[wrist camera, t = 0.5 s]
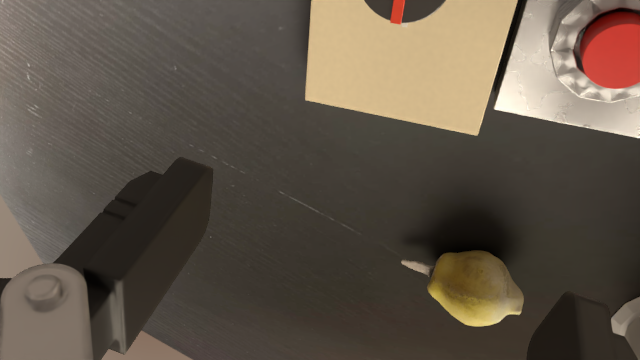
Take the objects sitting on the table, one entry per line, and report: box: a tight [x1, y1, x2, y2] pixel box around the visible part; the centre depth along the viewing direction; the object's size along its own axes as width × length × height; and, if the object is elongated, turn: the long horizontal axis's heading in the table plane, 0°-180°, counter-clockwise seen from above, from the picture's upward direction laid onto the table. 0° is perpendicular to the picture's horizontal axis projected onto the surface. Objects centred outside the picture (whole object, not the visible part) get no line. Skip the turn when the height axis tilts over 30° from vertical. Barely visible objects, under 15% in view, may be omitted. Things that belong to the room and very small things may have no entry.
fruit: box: [402, 251, 524, 326], centre depth 45 cm, size 6×6×10 cm
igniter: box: [494, 0, 640, 138], centre depth 31 cm, size 12×10×4 cm
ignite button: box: [580, 12, 640, 89], centre depth 29 cm, size 4×4×2 cm
